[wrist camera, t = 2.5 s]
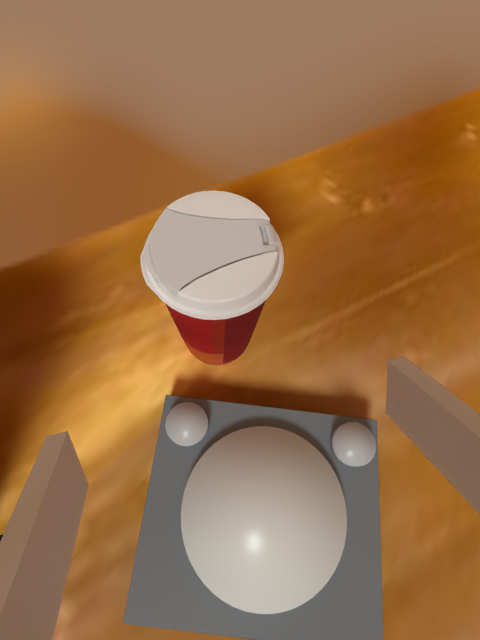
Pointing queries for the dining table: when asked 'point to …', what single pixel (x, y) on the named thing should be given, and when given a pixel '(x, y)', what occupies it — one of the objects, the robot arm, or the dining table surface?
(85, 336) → the dining table surface
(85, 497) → the robot arm
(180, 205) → the paper cup
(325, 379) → the dining table surface
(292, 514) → the grey flat block
